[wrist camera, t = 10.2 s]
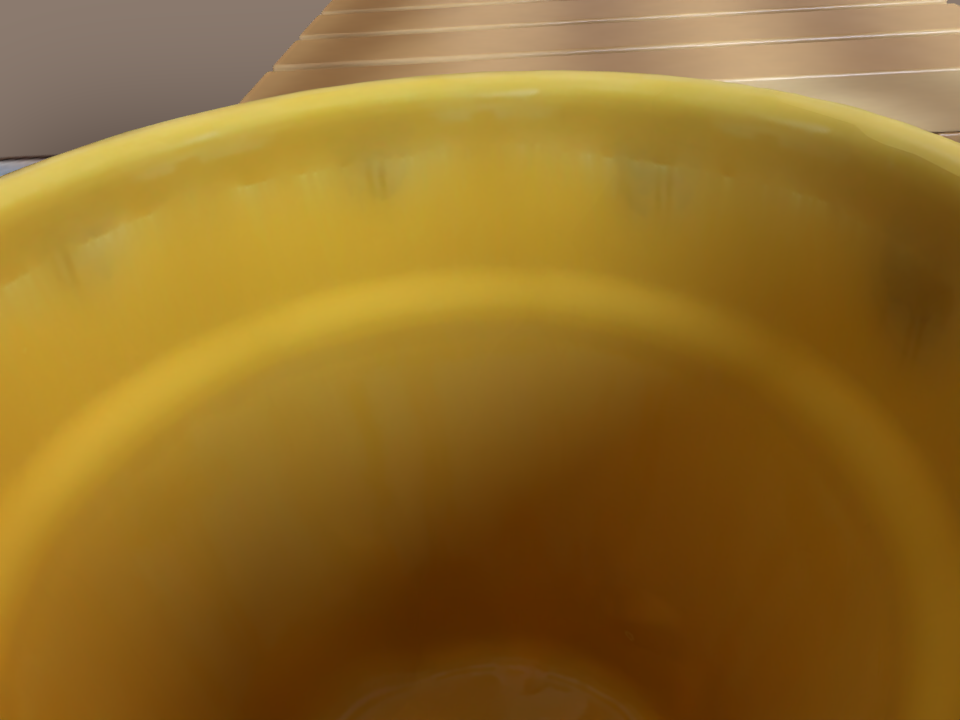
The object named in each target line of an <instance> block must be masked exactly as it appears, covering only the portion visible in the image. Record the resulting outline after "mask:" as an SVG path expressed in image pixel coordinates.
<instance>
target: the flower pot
mask: <svg viewBox="0 0 960 720" xmlns="http://www.w3.org/2000/svg"><path fill="white" fill-rule="evenodd" d="M0 720H960V143H958V142H955V141H953V140H950V139H948V138H946V137H943V136H940V135H937V134H934V133H931V132H928V131H926V130H923V129H921V128H918V127H916V126H913V125H910V124H907V123H904V122H901V121H898V120H895V119H891V118H888V117H885V116H882V115H878V114H875V113H872V112H869V111H866V110H863V109H861V108H857V107H853V106H849V105H845V104H840V103H836V102H831V101H826V100H821V99H816V98H810V97H807V96H803V95H799V94H796V93H789V92H784V91H779V90H774V89H769V88H758V87H753V86H748V85H743V84H736V83H729V82H722V81H715V80H706V79H697V78H688V77H679V76H670V75H661V74H646V73H630V72H611V71H577V70H533V71H483V72H469V73H454V74H440V75H426V76H413V77H403V78H393V79H383V80H375V81H367V82H360V83H353V84H347V85H340V86H332V87H325V88H317V89H310V90H305V91H299V92H293V93H288V94H283V95H278V96H273V97H268V98H263V99H259V100H254V101H250V102H245V103H241V104H236V105H232V106H227V107H223V108H218V109H214V110H210V111H206V112H202V113H197V114H193V115H188V116H184V117H180V118H176V119H172V120H169V121H165V122H161V123H157V124H154V125H150V126H146V127H142V128H139V129H135V130H131V131H127V132H124V133H121V134H119V135H115V136H112V137H109V138H106V139H103V140H100V141H97V142H94V143H92V144H88V145H85V146H82V147H79V148H76V149H74V150H71V151H68V152H65V153H62V154H59V155H56V156H53V157H50V158H48V159H45V160H42V161H40V162H37V163H34V164H32V165H29V166H26V167H24V168H21V169H19V170H16V171H13V172H11V173H8V174H6V175H3V176H1V177H0Z"/></svg>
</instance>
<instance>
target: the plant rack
mask: <svg viewBox="0 0 960 720" xmlns="http://www.w3.org/2000/svg"><path fill="white" fill-rule="evenodd" d="M299 38H300V40H299V41H296V42H294V43H293V45H292V46H291V47H290V48H289V49H288V50H287V51H286V52H285V53H284V54H283V55H282V57H281V58H280V59H279V60H278V61H277V62H276V63H275V64H274V66H273V72H267V73H266V74H265V75H264V76H263V77H262V78H261V79H260V81H259V82H258V83H257V84H256V85H255V86H254V87H253V88H252V89H251V90H250V92H249V93H248V94H247V95H246V96H245V97H244V98H243V99H242V100H241V102H240V103H239V104H241V103H245V102H250V101H254V100H259V99H263V98H268V97H273V96H278V95H283V94H288V93H293V92H299V91H305V90H310V89H317V88H325V87H332V86H340V85H347V84H353V83H360V82H367V81H375V80H383V79H393V78H403V77H413V76H426V75H440V74H454V73H469V72H483V71H533V70H577V71H611V72H630V73H646V74H661V75H670V76H679V77H688V78H697V79H706V80H715V81H722V82H729V83H736V84H743V85H748V86H753V87H758V88H769V89H774V90H779V91H784V92H789V93H796V94H799V95H803V96H807V97H810V98H816V99H821V100H826V101H831V102H836V103H840V104H845V105H849V106H853V107H857V108H861V109H863V110H866V111H869V112H872V113H875V114H878V115H882V116H885V117H888V118H891V119H895V120H898V121H901V122H904V123H907V124H910V125H913V126H916V127H918V128H921V129H923V130H926V131H928V132H931V133H934V134H937V135H940V136H943V137H946V138H948V139H950V140H953V141H955V142H958V143H960V6H959V5H957V4H954V3H953V4H947V0H332V1H331V2H330V3H329V4H328V5H327V6H326V7H325V9H324V10H323V11H322V13H321V15H319V16H317V17H316V18H315V19H314V21H313V22H312V23H311V24H310V25H309V26H308V27H307V28H306V30H305V31H304V32H303V33H302V34H301V35H300V37H299Z"/></svg>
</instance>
